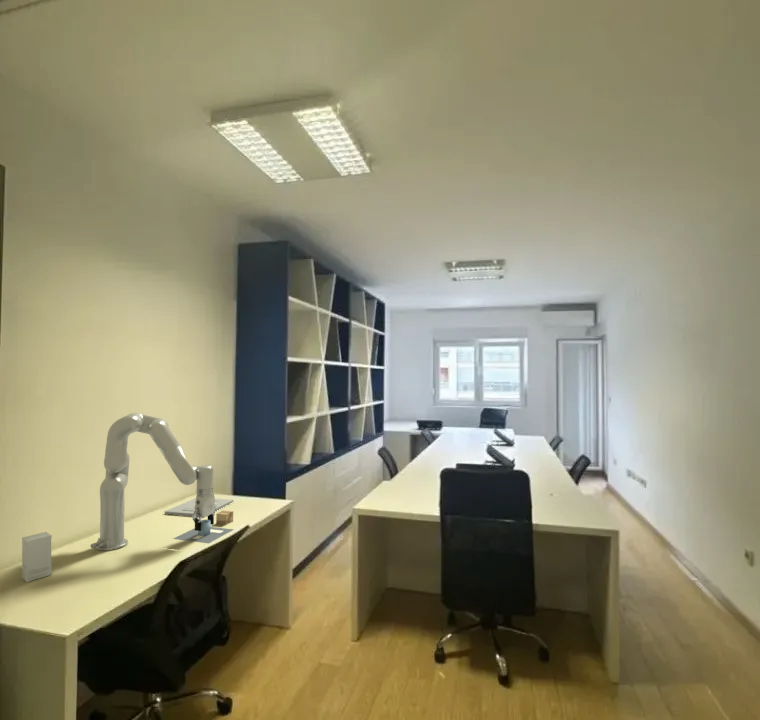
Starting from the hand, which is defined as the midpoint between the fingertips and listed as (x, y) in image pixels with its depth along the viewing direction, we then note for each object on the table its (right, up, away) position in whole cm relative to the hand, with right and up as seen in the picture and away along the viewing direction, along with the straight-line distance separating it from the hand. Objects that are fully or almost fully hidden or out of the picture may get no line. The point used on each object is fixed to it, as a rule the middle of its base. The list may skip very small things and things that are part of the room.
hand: (204, 527), depth 228 cm
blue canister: (0, -3, 0) cm, 3 cm away
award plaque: (-19, -6, +45) cm, 49 cm away
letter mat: (0, -4, 0) cm, 4 cm away
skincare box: (-47, -3, -46) cm, 66 cm away
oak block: (+4, -4, +17) cm, 18 cm away
